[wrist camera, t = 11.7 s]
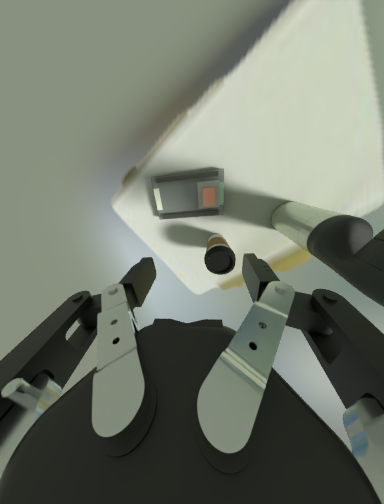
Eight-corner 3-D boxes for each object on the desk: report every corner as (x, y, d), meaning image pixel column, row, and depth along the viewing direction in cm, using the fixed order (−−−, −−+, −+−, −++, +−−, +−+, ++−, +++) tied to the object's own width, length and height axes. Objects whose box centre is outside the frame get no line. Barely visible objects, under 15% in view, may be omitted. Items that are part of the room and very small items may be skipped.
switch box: (222, 169, 38) (224, 168, 35) (222, 212, 44) (223, 215, 40) (154, 177, 41) (149, 177, 37) (162, 217, 46) (158, 220, 42)
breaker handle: (219, 179, 37) (221, 179, 31) (219, 206, 40) (221, 210, 35) (197, 182, 37) (195, 182, 32) (199, 208, 41) (198, 212, 35)
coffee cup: (211, 226, 46) (214, 244, 33) (233, 236, 47) (243, 258, 34) (200, 245, 50) (198, 269, 37) (220, 255, 51) (225, 281, 38)
